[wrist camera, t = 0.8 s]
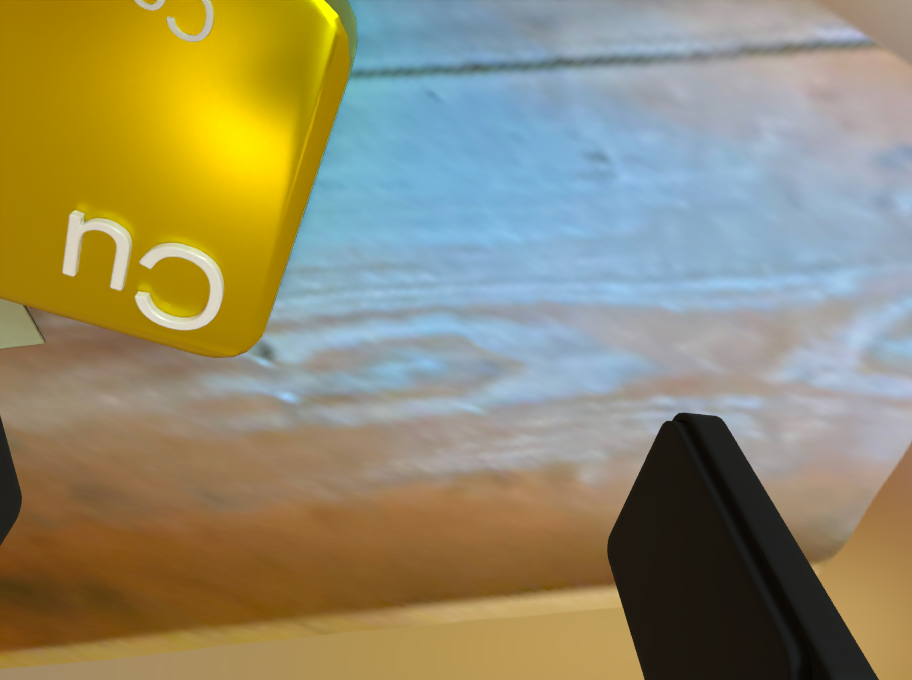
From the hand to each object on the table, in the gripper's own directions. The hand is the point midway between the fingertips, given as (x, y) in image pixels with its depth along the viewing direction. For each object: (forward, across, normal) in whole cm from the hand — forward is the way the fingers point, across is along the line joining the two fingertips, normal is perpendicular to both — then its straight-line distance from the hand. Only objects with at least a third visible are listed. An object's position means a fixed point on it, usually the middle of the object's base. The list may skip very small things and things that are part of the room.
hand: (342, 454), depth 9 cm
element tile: (+20, +10, +2) cm, 22 cm away
